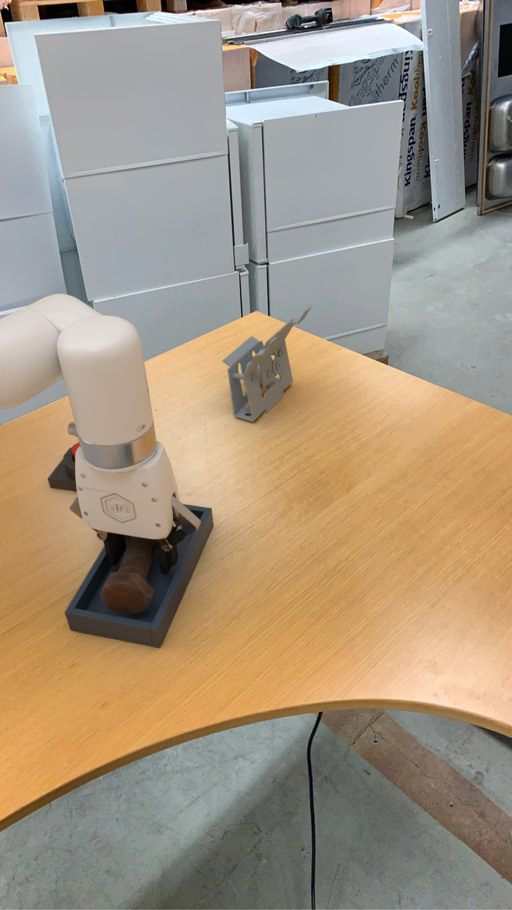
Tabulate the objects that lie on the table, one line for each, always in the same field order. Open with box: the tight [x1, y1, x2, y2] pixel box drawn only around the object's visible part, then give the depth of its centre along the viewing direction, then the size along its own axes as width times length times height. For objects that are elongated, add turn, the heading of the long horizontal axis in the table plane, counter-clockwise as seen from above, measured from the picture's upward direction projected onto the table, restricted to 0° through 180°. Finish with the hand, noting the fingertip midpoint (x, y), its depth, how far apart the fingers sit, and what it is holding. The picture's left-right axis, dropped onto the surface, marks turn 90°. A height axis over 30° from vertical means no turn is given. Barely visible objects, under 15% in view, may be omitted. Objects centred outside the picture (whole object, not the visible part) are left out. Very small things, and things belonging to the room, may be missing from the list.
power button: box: [72, 441, 80, 459], centre depth 91 cm, size 4×4×2 cm
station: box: [47, 444, 77, 493], centre depth 92 cm, size 9×8×4 cm
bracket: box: [222, 305, 313, 423], centre depth 102 cm, size 13×10×15 cm
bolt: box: [99, 535, 160, 615], centre depth 76 cm, size 6×5×15 cm
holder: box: [64, 503, 214, 649], centre depth 77 cm, size 11×19×3 cm, turn 166°
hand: (143, 560), depth 77 cm, fingers closed on bolt, 5 cm apart
